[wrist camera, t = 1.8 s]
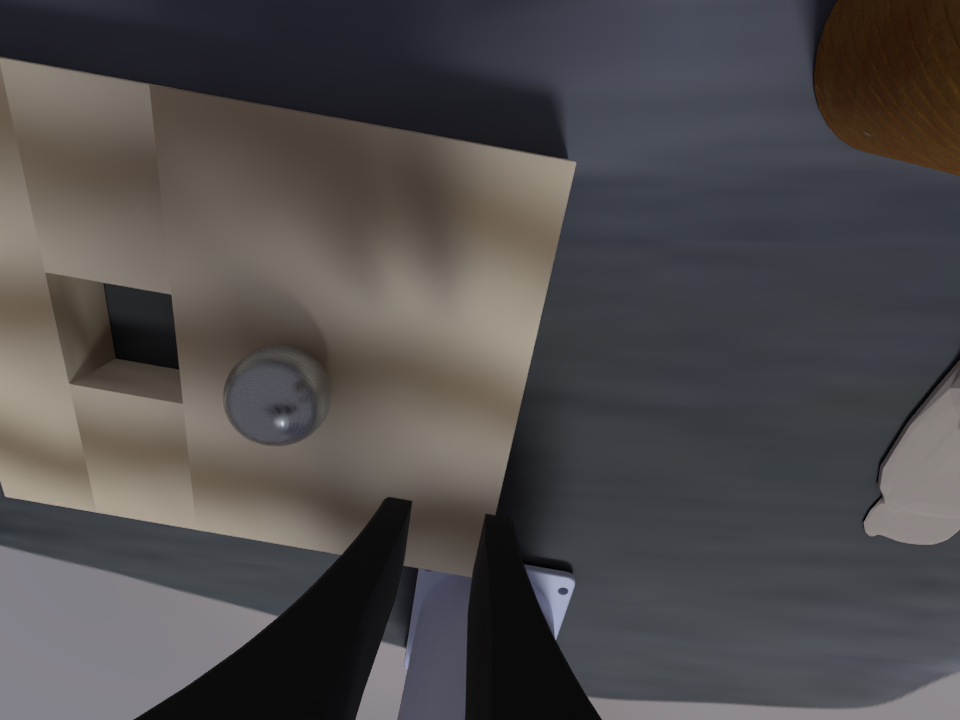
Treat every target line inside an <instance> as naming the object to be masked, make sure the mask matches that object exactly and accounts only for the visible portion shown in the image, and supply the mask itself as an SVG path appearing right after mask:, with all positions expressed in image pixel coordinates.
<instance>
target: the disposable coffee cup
mask: <svg viewBox="0 0 960 720" xmlns="http://www.w3.org/2000/svg"><path fill="white" fill-rule="evenodd" d="M814 84H815V94H816V98H817V102H818V106H819V110H820V112H821V114H822V116H823V118H824V119H825V121H826V123H827V125H828V127H829V128H830V129H831V130H832V131H833V132H834V133H835V134H836V136H837V137H838V138H839V139H841V140H842V141H844V142H845V143H847V144H848V145H850V146H851V147H853V148H855V149H858V150H861V151H864V152H867V153H870V154H877V155H881V156H885V157H889V158H893V159H896V160H901V161H905V162H908V163H912V164H917V165H921V166H924V167H928V168H933V169H936V170H940V171H944V172H948V173H951V174H955V175H959V176H960V0H837V2H836V3H835V5H834V7H833V9H832V11H831V13H830V15H829V17H828V19H827V21H826V23H825V26H824V29H823V32H822V36H821V39H820V42H819V46H818V49H817V54H816V62H815V70H814Z"/></svg>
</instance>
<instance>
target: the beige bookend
mask: <svg viewBox="0 0 960 720" xmlns="http://www.w3.org/2000/svg"><path fill="white" fill-rule="evenodd" d="M878 487H879V489H880V491H881V493H882V498H881V499H880V500H879V501H878V503H877V504H876V505H875V506H874V507H873V508H872V509H871V510H870V512H869V514H868V515H867V517H866V519H865V521H864V528H865V532H866V533H867V534H868V535H870V536H875V535H882V536H885V537H888V538H891V539H893V540H896V541H900V542H904V543H908V544H919V545H929V544H936V543H939V542H942V541H945V540H948V539H949V538H950V537H951V536H953V535H954V534H955V533H956V532H958V531H959V530H960V360H959V361H958V362H957V364H956V365H955V366H954V367H953V368H952V369H951V371H950V372H949V373H948V374H947V375H946V376H945V377H944V379H943V380H942V381H941V382H940V383H939V384H938V386H937V387H936V388H935V389H934V391H933V392H932V393H931V394H930V395H929V397H928V398H927V399H926V400H925V402H924V403H923V404H922V405H921V406H920V408H919V409H918V410H917V411H916V413H915V414H914V415H913V416H912V418H911V419H910V420H909V421H908V422H907V424H906V425H905V427H904V429H903V430H902V432H901V433H900V435H899V437H898V438H897V440H896V442H895V443H894V445H893V446H892V448H891V450H890V451H889V453H888V454H887V456H886V458H885V459H884V461H883V462H882V464H881V466H880V472H879V478H878Z"/></svg>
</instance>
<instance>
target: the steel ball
mask: <svg viewBox="0 0 960 720" xmlns="http://www.w3.org/2000/svg"><path fill="white" fill-rule="evenodd" d="M331 400H332V389H331V384H330V380H329V377H328V375H327V373H326V371H325V369H324V368H323V367H322V365H321V364H320V363H319V362H318V361H317V360H316V359H315V358H314V357H312V356H311V355H310V354H308V353H307V352H305V351H303V350H300V349H298V348H294V347H290V346H282V345H275V346H268V347H263V348H260V349H257V350H255V351H253V352H251V353H249V354H248V355H246V356H244V357H243V358H242V359H241V360H240V361H238V362H237V363H236V364H235V366H234V367H233V368H232V370H231V371H230V373H229V375H228V376H227V379H226V382H225V385H224V389H223V406H224V410H225V413H226V416H227V418H228V420H229V422H230V423H231V425H232V426H233V427H234V428H235V430H236V431H237V432H238V433H240V434H241V435H242V436H243V437H245V438H247V439H248V440H250V441H252V442H255V443H258V444H261V445H265V446H286V445H291V444H294V443H297V442H300V441H302V440H303V439H305V438H307V437H309V436H310V435H311V434H312V433H314V432H315V431H316V430H317V429H318V428H319V427H320V426H321V424H322V423H323V421H324V420H325V418H326V416H327V414H328V412H329V409H330V405H331Z"/></svg>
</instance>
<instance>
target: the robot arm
mask: <svg viewBox="0 0 960 720" xmlns="http://www.w3.org/2000/svg"><path fill="white" fill-rule="evenodd" d="M411 508H412V501H411V500H405V499H399V498H394V497H387V498H385V499H384V500H383V502H382V503H381V505H380V506H379V508H378V509H377V511H376V512H375V514H374V515H373V517H372V518H371V519H370V521H369V522H368V523H367V525H366V526H365V527H364V529H363V530H362V531H361V532H360V534H359V535H358V536H357V537H356V538H355V540H354V541H353V542H352V543H351V544H350V546H349V547H348V548H347V549H346V550H345V551H344V553H343V554H342V555H341V556H340V557H339V558H338V559H337V560H336V562H335V563H334V564H333V565H332V566H331V567H330V568H329V569H328V570H327V571H326V572H325V573H324V574H323V575H322V576H321V577H320V578H319V579H318V580H317V581H316V583H315V584H314V585H313V586H312V587H310V588H309V589H308V590H307V591H306V592H305V593H304V594H303V595H302V596H301V597H300V598H299V599H298V600H297V601H296V602H295V603H294V604H292V605H291V606H290V607H289V608H288V609H287V610H286V611H285V612H284V613H282V614H281V615H280V616H279V617H278V618H277V619H276V620H274V621H273V622H272V623H271V624H270V625H268V626H267V627H266V628H265V629H263V630H262V631H261V632H260V633H259V634H257V635H256V636H255V637H254V638H252V639H251V640H250V641H249V642H247V643H246V644H245V645H244V646H242V647H241V648H240V649H238V650H237V651H236V652H234V653H233V654H232V655H230V656H229V657H227V658H226V659H225V660H223V661H222V662H220V663H219V664H218V665H216V666H215V667H213V668H212V669H211V670H209V671H208V672H206V673H205V674H204V675H202V676H201V677H200V678H198V679H197V680H195V681H194V682H192V683H191V684H190V685H188V686H186V687H185V688H183V689H182V690H180V691H179V692H177V693H175V694H174V695H173V696H171V697H169V698H167V699H166V700H164V701H163V702H161V703H160V704H158V705H156V706H155V707H153V708H152V709H150V710H148V711H147V712H145V713H144V714H142V715H140V716H139V717H137V718H136V719H134V720H355V719H356V715H357V712H358V708H359V705H360V702H361V699H362V695H363V692H364V689H365V686H366V683H367V680H368V677H369V674H370V672H371V669H372V666H373V663H374V660H375V657H376V654H377V651H378V648H379V645H380V643H381V640H382V637H383V634H384V631H385V628H386V625H387V622H388V619H389V616H390V613H391V610H392V607H393V604H394V601H395V598H396V594H397V589H398V585H399V581H400V577H401V573H402V568H403V564H404V560H405V552H406V545H407V537H408V530H409V523H410V515H411ZM574 587H575V578H574V576H573V575H572V574H571V573H569V572H565V571H559V570H554V569H548V568H542V567H536V566H531V565H525V564H524V563H523V560H522V556H521V553H520V550H519V547H518V543H517V540H516V536H515V532H514V527H513V522H512V521H511V519H510V518H508V517H502V516H497V515H491V514H485V517H484V522H483V527H482V531H481V536H480V540H479V545H478V549H477V554H476V559H475V563H474V568H473V573H472V577H466V576H460V575H455V574H449V573H443V572H437V571H431V570H426V569H420V568H419V569H418V576H417V582H416V589H415V596H414V602H413V609H412V615H411V622H410V628H409V635H408V641H407V648H406V654H405V661H404V667H405V669H406V670H407V675H406V680H405V685H404V690H403V695H402V700H401V704H400V710H399V714H398V719H397V720H602V719H601V718H600V716H599V715H598V713H597V711H596V710H595V708H594V707H593V705H592V704H591V702H590V701H589V699H588V697H587V696H586V694H585V693H584V691H583V689H582V688H581V686H580V684H579V682H578V681H577V679H576V677H575V675H574V674H573V672H572V670H571V668H570V667H569V665H568V663H567V661H566V659H565V657H564V655H563V654H562V652H561V650H560V648H559V646H558V644H557V642H556V639H557V636H558V633H559V630H560V627H561V624H562V621H563V618H564V615H565V613H566V610H567V607H568V604H569V601H570V598H571V595H572V592H573V589H574Z"/></svg>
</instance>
